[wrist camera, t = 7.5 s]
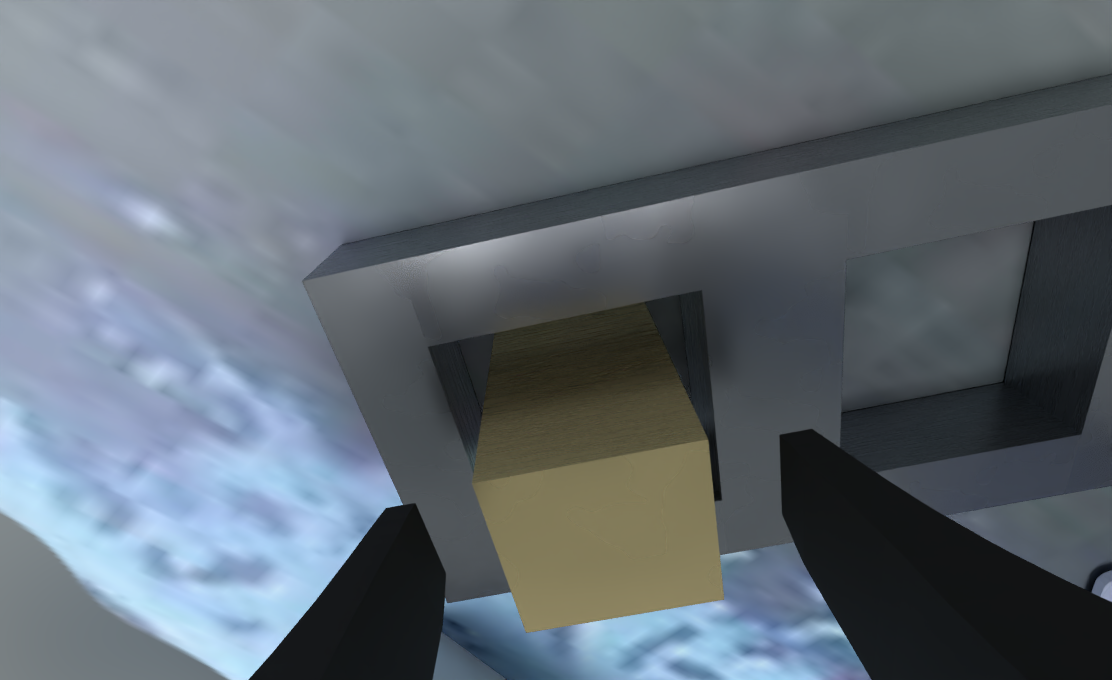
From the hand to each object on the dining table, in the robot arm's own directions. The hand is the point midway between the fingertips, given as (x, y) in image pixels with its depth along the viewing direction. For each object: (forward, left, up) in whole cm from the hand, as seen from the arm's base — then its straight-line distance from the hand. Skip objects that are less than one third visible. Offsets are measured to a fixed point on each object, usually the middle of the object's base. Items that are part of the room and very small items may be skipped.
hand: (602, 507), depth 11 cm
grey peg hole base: (-4, 0, -5) cm, 7 cm away
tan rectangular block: (0, 0, -5) cm, 5 cm away
